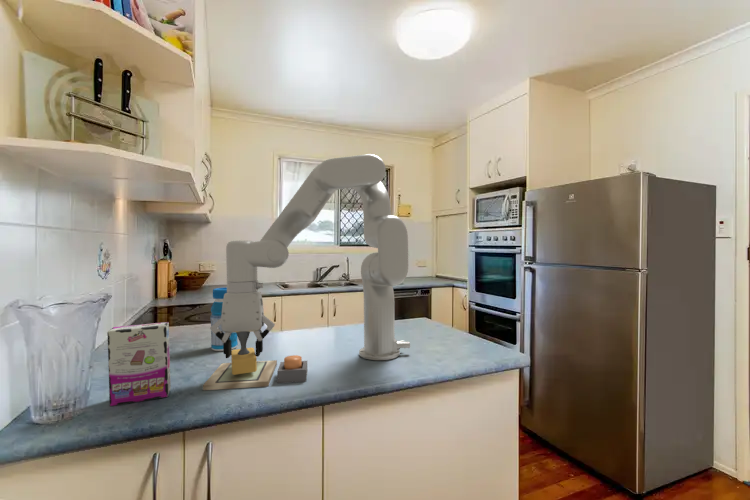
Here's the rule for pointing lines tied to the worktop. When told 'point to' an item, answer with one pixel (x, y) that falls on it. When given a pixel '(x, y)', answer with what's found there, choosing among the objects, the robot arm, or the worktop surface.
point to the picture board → (241, 377)
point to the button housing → (292, 374)
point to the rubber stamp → (243, 356)
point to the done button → (293, 362)
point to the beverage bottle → (215, 316)
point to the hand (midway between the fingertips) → (243, 355)
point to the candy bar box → (138, 363)
